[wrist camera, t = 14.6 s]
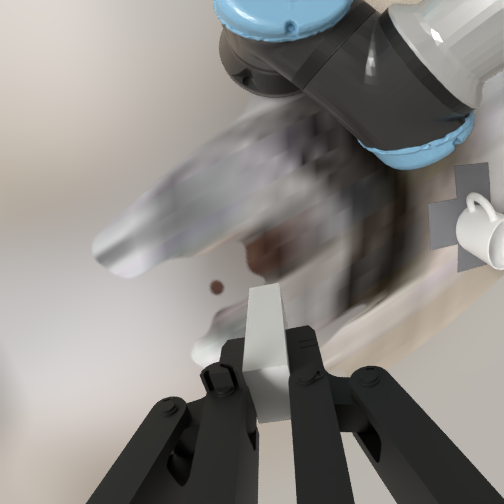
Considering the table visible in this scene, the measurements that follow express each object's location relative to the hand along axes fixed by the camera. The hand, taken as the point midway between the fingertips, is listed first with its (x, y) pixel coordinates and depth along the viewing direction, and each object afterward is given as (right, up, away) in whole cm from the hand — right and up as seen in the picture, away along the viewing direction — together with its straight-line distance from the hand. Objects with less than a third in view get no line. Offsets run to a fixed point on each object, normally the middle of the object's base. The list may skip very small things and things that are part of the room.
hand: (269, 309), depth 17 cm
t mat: (+35, +8, +31) cm, 47 cm away
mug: (+37, +9, +30) cm, 48 cm away
